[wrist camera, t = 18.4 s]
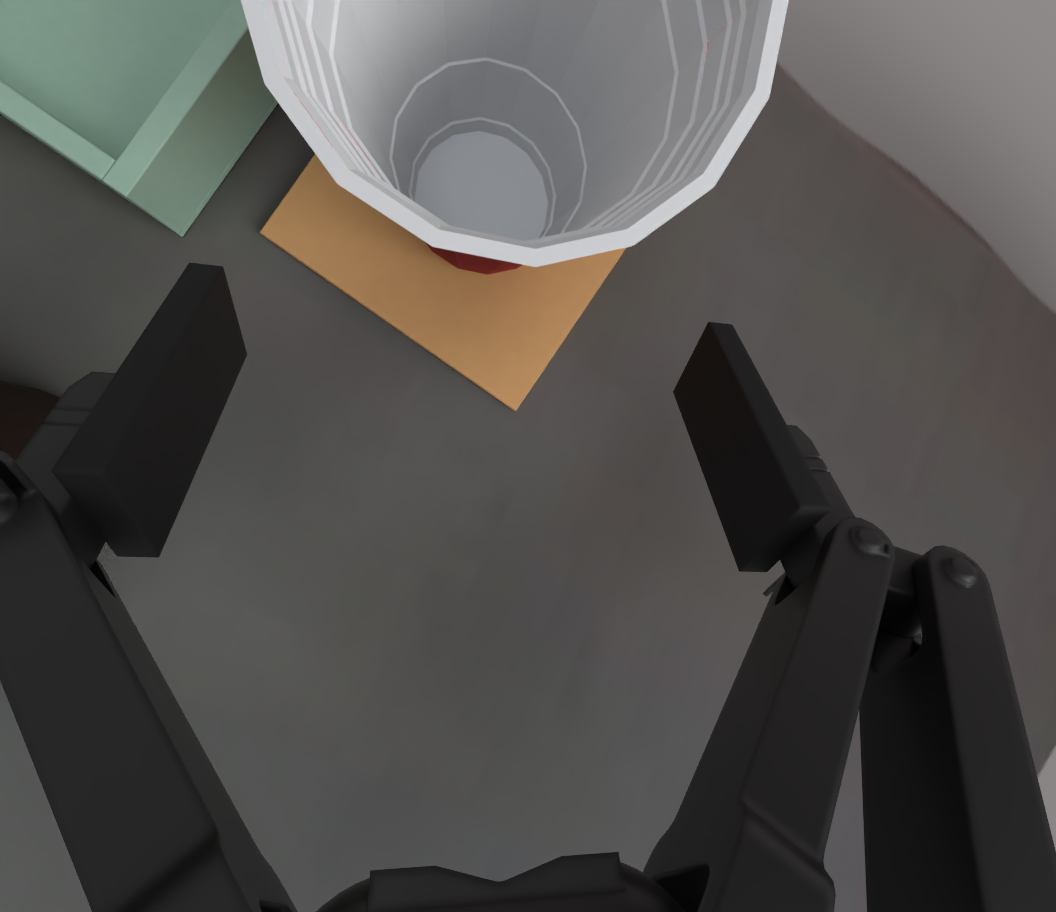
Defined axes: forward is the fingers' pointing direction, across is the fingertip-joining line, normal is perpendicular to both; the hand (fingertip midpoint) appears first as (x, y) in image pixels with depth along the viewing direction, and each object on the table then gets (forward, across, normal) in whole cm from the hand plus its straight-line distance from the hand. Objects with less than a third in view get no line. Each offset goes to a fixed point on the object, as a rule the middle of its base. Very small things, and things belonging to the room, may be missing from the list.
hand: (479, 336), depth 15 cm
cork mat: (+10, 0, -1) cm, 10 cm away
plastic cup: (+10, 0, -1) cm, 10 cm away
